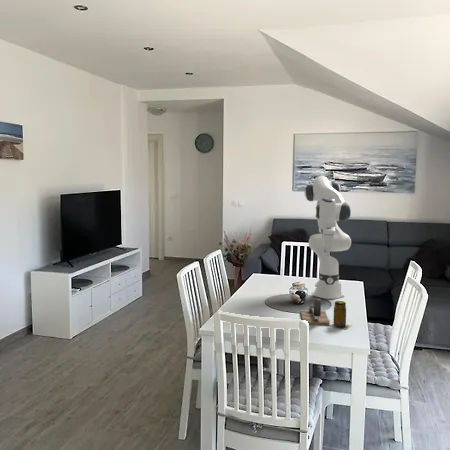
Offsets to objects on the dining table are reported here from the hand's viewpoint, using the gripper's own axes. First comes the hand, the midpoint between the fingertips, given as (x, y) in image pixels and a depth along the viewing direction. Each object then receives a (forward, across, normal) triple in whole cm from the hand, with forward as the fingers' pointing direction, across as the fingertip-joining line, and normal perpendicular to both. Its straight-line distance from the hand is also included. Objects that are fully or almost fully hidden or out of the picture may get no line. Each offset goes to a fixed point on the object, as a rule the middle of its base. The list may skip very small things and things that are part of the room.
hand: (326, 254), depth 243 cm
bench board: (+32, +10, -6) cm, 34 cm away
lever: (+30, +11, -6) cm, 33 cm away
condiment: (+32, +20, +6) cm, 38 cm away
